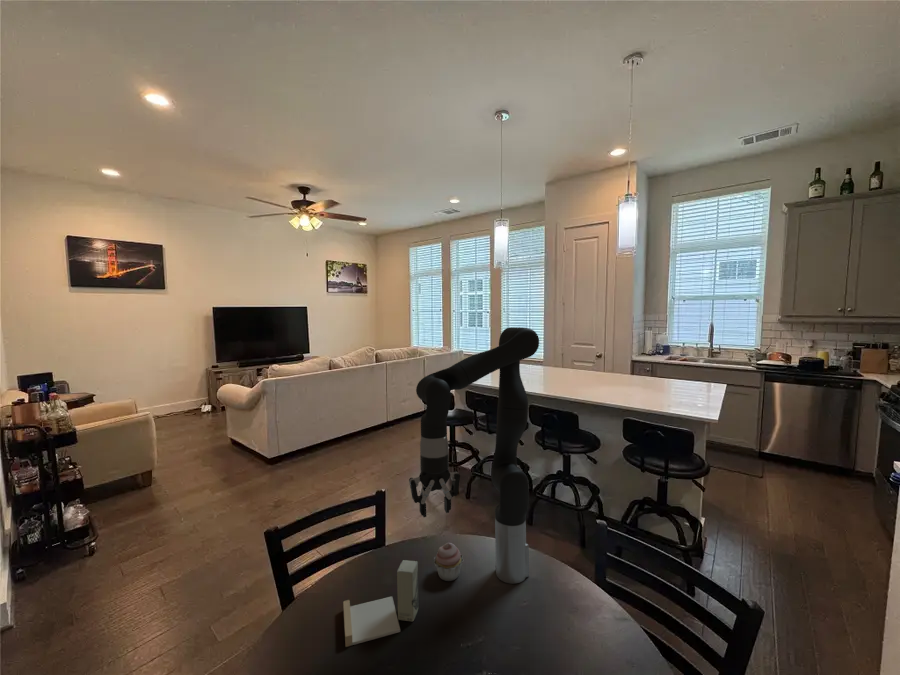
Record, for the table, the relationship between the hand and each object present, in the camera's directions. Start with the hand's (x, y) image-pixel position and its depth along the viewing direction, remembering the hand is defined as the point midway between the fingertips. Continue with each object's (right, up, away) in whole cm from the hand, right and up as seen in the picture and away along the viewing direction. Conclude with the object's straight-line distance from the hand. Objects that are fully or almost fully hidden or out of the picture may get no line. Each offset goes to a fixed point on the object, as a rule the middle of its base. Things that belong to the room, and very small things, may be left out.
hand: (435, 513), depth 99 cm
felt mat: (-16, -26, -4) cm, 31 cm away
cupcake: (+4, -25, +13) cm, 29 cm away
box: (-7, -26, -2) cm, 27 cm away
